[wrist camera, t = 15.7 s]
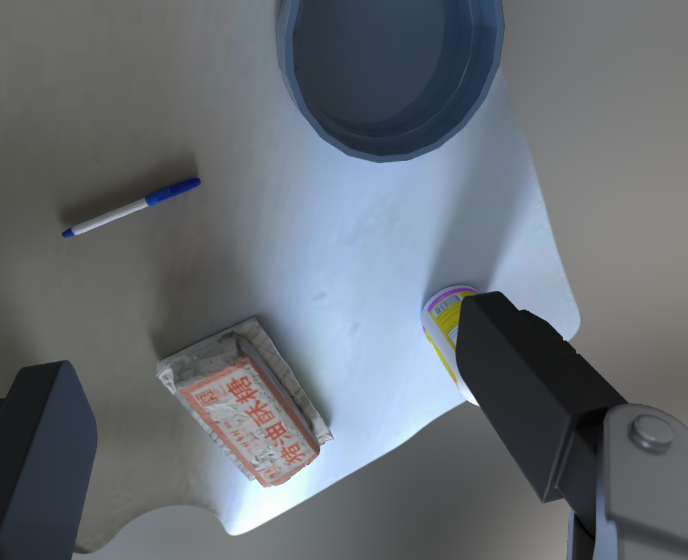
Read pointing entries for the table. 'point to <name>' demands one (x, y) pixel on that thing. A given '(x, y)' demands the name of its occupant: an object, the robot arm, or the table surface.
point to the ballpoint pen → (133, 207)
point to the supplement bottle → (446, 329)
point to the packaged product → (247, 402)
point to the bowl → (388, 70)
